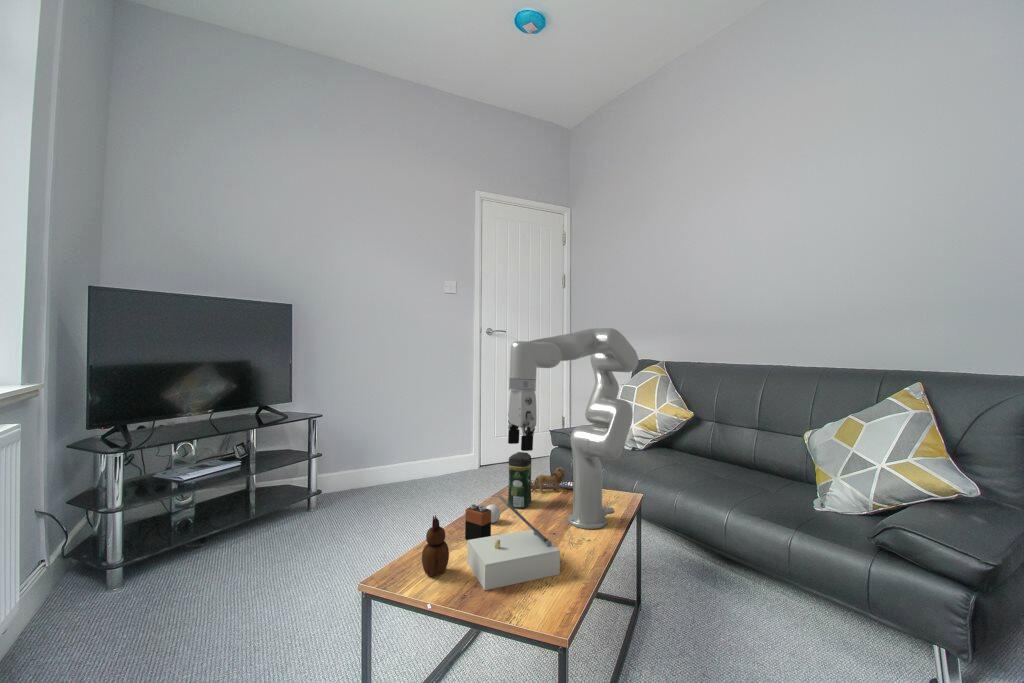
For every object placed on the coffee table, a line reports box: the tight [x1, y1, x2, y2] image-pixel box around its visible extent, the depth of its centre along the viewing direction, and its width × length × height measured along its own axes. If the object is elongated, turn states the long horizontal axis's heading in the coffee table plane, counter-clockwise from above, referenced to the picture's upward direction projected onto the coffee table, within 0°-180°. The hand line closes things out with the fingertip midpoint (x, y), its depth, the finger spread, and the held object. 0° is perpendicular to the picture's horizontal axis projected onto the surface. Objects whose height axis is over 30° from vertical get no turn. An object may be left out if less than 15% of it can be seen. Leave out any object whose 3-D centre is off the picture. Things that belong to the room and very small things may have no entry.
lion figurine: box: [531, 467, 566, 494], centre depth 173 cm, size 15×5×9 cm, turn 110°
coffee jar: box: [507, 451, 532, 509], centre depth 158 cm, size 10×8×19 cm
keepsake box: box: [466, 528, 561, 591], centre depth 112 cm, size 20×14×8 cm
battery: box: [464, 504, 492, 541], centre depth 128 cm, size 4×7×10 cm, turn 55°
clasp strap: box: [498, 494, 549, 544], centre depth 113 cm, size 17×6×1 cm
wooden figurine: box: [421, 515, 450, 578], centre depth 109 cm, size 7×6×15 cm
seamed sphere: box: [485, 503, 501, 524], centre depth 141 cm, size 8×6×6 cm
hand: (519, 446), depth 121 cm, fingers open, 9 cm apart
